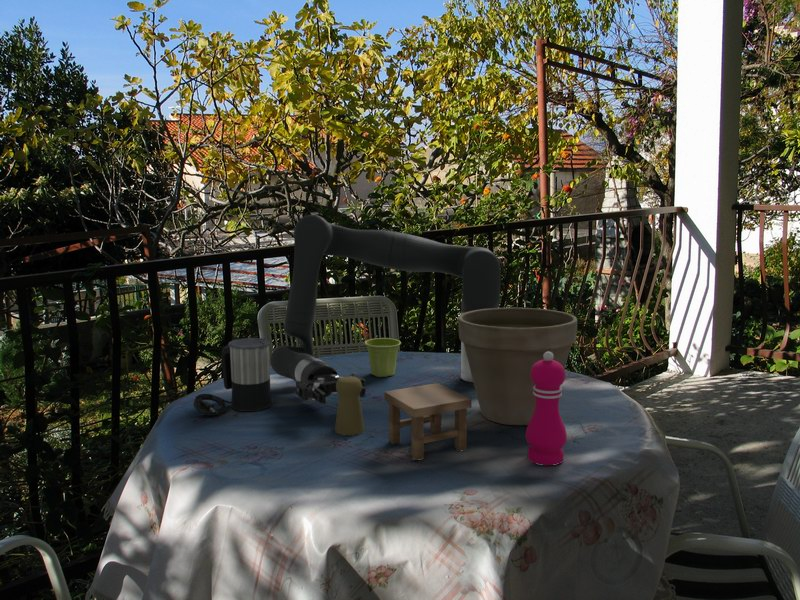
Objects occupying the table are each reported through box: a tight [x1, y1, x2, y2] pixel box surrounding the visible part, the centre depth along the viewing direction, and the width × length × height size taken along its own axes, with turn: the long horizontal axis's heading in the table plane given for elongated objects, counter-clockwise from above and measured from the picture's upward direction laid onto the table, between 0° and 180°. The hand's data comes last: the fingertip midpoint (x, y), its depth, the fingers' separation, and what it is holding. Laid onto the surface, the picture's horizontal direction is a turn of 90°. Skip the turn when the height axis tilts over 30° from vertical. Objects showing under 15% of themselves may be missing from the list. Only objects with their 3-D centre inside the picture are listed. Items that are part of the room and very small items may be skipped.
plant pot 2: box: [457, 307, 578, 426], centre depth 148 cm, size 25×25×22 cm
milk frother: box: [193, 337, 273, 416], centre depth 154 cm, size 14×16×15 cm
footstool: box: [383, 382, 472, 461], centre depth 131 cm, size 12×12×10 cm
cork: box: [334, 376, 366, 436], centre depth 140 cm, size 6×6×11 cm
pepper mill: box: [525, 351, 568, 465], centre depth 124 cm, size 7×7×20 cm
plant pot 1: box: [364, 337, 402, 378], centre depth 181 cm, size 9×9×9 cm
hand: (343, 395), depth 142 cm, fingers open, 8 cm apart
